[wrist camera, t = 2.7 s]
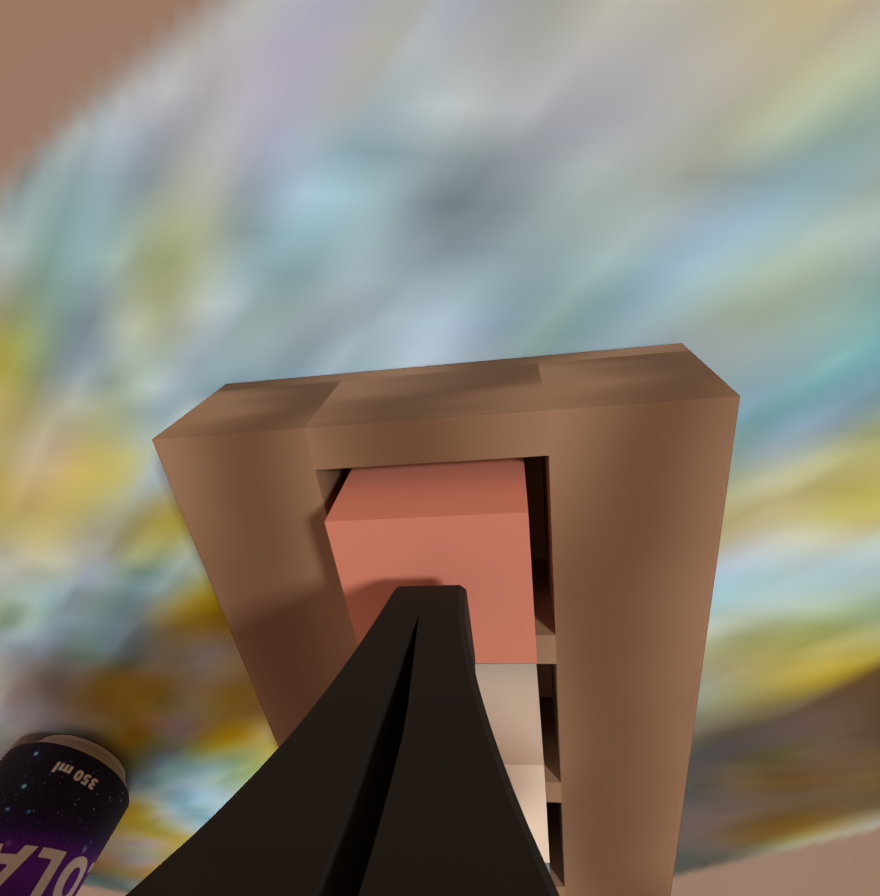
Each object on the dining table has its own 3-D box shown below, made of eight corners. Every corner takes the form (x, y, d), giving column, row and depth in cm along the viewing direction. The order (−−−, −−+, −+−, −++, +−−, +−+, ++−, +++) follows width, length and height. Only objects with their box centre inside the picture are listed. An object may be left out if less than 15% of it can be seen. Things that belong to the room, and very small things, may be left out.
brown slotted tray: (681, 343, 13) (739, 396, 10) (643, 801, 21) (668, 908, 18) (226, 383, 15) (151, 439, 11) (358, 792, 23) (336, 887, 20)
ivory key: (536, 661, 14) (544, 765, 12) (541, 755, 16) (549, 862, 13) (391, 662, 15) (368, 761, 12) (412, 752, 16) (396, 854, 14)
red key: (522, 445, 12) (528, 512, 10) (530, 577, 14) (537, 663, 12) (358, 456, 13) (324, 521, 10) (386, 581, 15) (362, 663, 12)
